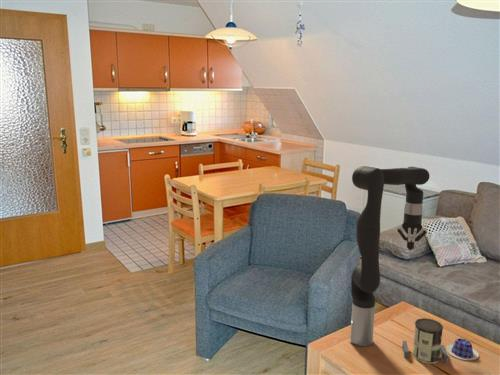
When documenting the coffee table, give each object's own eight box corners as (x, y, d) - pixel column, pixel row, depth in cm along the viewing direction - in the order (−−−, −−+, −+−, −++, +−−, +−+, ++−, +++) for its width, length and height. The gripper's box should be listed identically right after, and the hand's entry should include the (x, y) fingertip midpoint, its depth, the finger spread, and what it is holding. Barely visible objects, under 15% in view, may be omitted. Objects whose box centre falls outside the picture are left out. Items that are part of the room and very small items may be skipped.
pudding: (481, 351, 182) (482, 340, 181) (475, 365, 173) (476, 353, 172) (450, 341, 189) (451, 330, 188) (442, 354, 180) (444, 343, 179)
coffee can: (435, 350, 182) (438, 318, 179) (443, 365, 172) (446, 332, 169) (409, 348, 184) (412, 317, 181) (415, 363, 174) (418, 330, 171)
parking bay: (404, 358, 177) (405, 351, 176) (402, 347, 184) (402, 340, 184) (447, 363, 173) (448, 356, 173) (443, 351, 181) (443, 345, 181)
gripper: (398, 213, 193) (395, 251, 197) (430, 215, 190) (427, 253, 194) (396, 209, 200) (393, 245, 204) (427, 210, 197) (424, 247, 201)
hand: (410, 249), depth 199 cm, fingers closed
